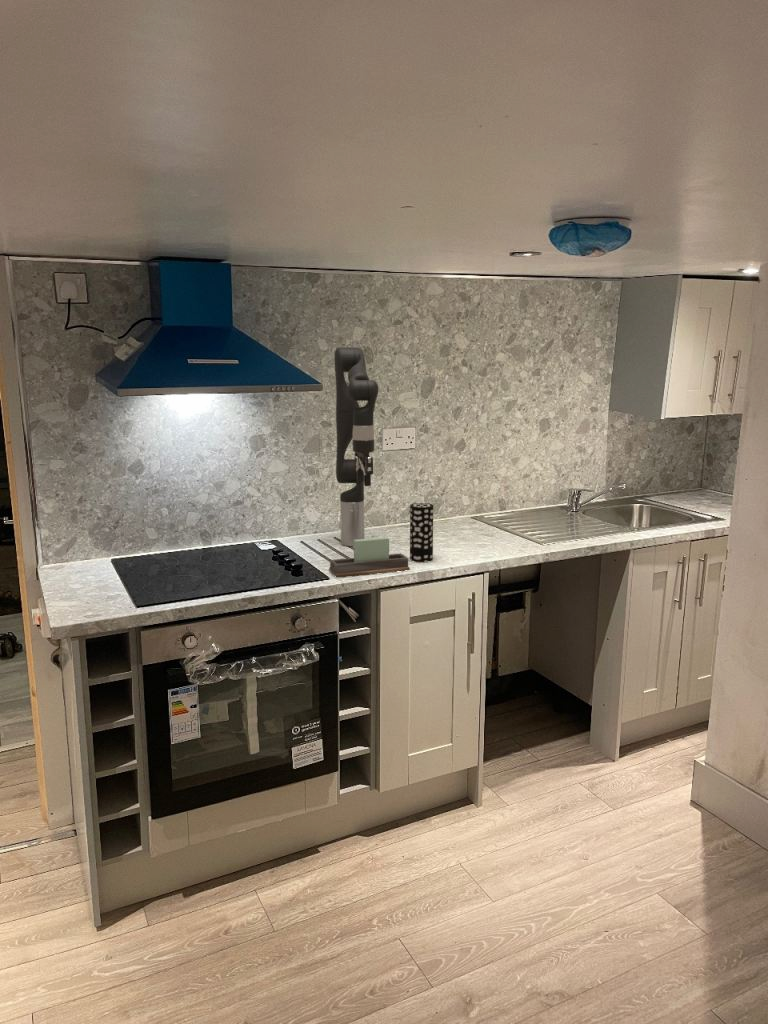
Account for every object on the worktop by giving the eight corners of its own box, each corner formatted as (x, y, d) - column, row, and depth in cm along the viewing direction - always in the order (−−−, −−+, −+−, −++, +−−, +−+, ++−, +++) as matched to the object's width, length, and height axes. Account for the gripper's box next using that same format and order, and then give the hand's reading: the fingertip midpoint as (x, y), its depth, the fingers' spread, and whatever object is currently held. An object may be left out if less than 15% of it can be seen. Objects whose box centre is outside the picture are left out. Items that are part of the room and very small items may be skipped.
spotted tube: (406, 557, 285) (406, 504, 280) (427, 555, 288) (427, 502, 283) (415, 563, 277) (415, 508, 273) (436, 561, 280) (437, 506, 276)
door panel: (353, 568, 268) (353, 539, 266) (386, 564, 272) (386, 537, 270) (355, 569, 266) (355, 541, 264) (389, 566, 270) (389, 538, 268)
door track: (329, 569, 269) (328, 558, 269) (399, 563, 278) (399, 552, 277) (336, 578, 260) (336, 566, 259) (409, 570, 268) (409, 559, 268)
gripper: (347, 436, 277) (347, 481, 280) (359, 440, 264) (359, 488, 267) (367, 435, 279) (367, 480, 282) (380, 440, 266) (380, 486, 269)
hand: (363, 483), depth 275 cm, fingers open, 8 cm apart
